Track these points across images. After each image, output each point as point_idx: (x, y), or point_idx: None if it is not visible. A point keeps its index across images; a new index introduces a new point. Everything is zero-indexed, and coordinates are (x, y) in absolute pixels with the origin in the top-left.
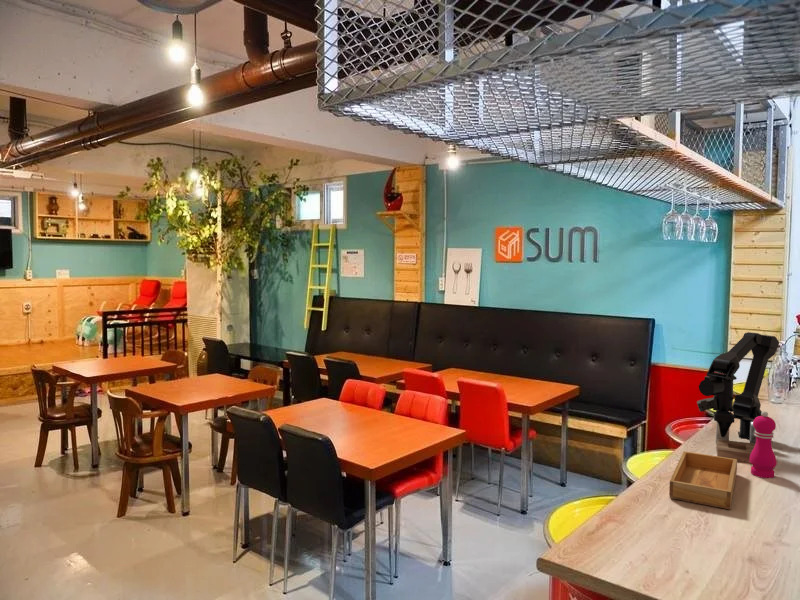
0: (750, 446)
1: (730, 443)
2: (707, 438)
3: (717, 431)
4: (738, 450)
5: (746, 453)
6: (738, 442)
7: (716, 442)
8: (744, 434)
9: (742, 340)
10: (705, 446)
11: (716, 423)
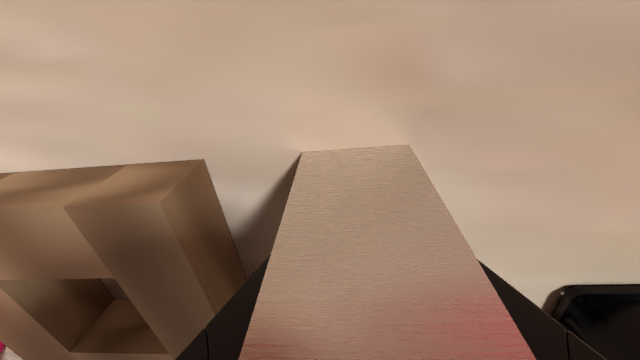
0: None
1: (126, 291)
2: (488, 58)
3: (277, 247)
4: (2, 322)
5: (12, 343)
6: (201, 329)
7: (299, 162)
8: (577, 334)
9: None
10: (164, 67)
11: (402, 339)
